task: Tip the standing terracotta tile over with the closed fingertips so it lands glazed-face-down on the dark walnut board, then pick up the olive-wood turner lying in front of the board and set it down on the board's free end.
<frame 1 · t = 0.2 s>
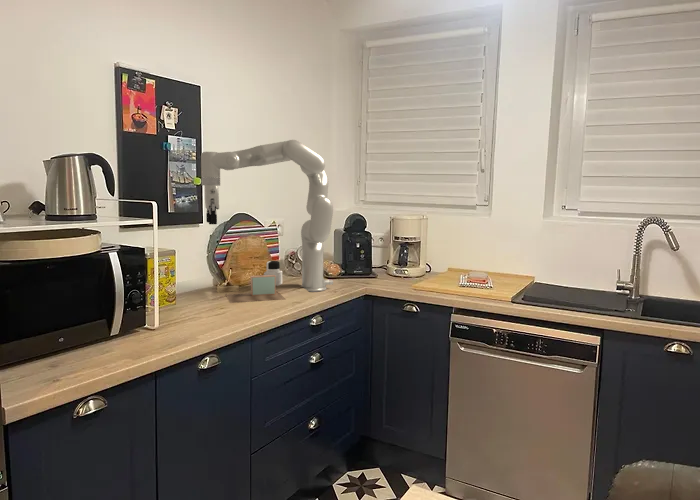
hand: (211, 223, 218), 31 cm above the countertop, fingers open, 9 cm apart
medicine bottle: (273, 287, 242), on the countertop
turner: (228, 294, 224), on the countertop
tile: (263, 294, 218), point 1 cm above the countertop, touching board
board: (255, 300, 214), on the countertop
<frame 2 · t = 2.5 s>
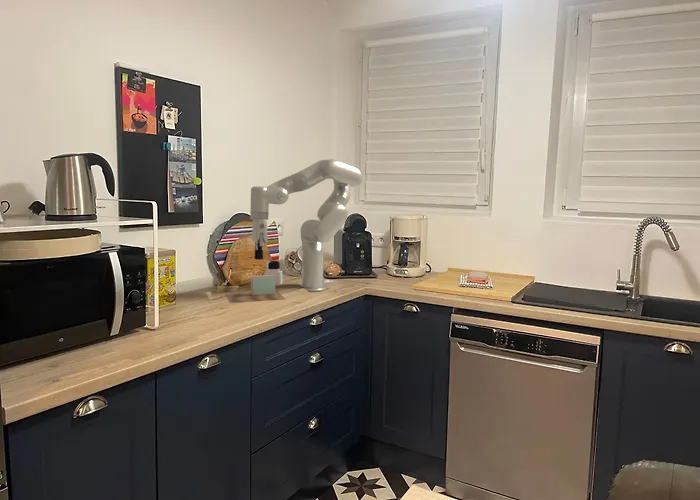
hand: (258, 259, 222), 16 cm above the countertop, fingers closed
nothing on the countertop moved.
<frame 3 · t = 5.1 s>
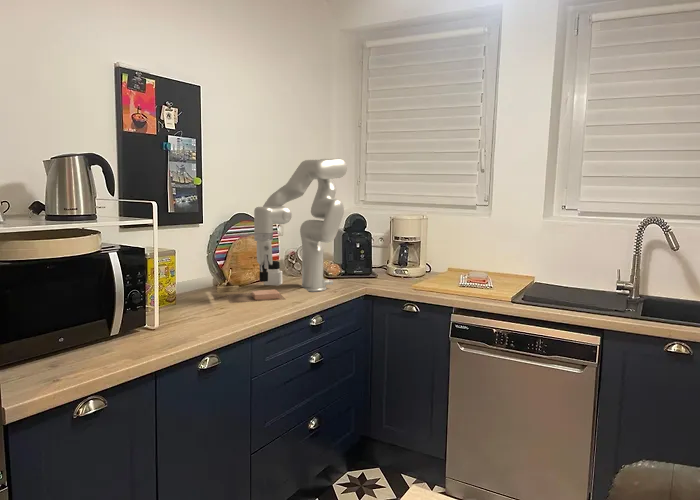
hand: (263, 281, 216), 8 cm above the countertop, fingers closed
tile: (263, 292, 217), point 3 cm above the countertop, tilted 90°, touching board
everything else where it was.
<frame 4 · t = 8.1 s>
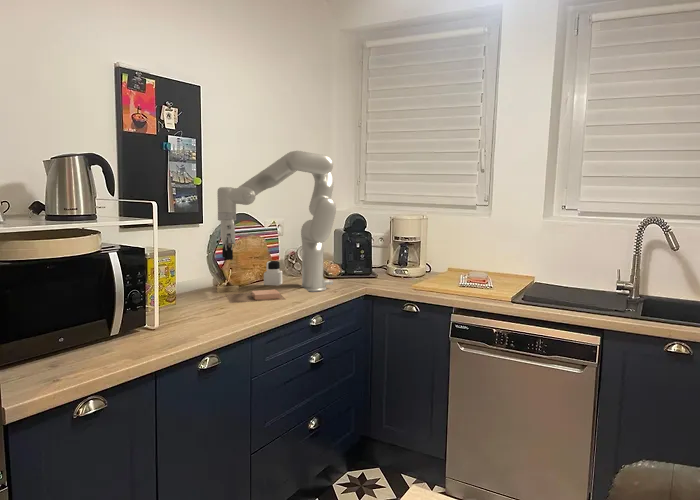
hand: (227, 258, 222), 16 cm above the countertop, fingers open, 7 cm apart
nothing on the countertop moved.
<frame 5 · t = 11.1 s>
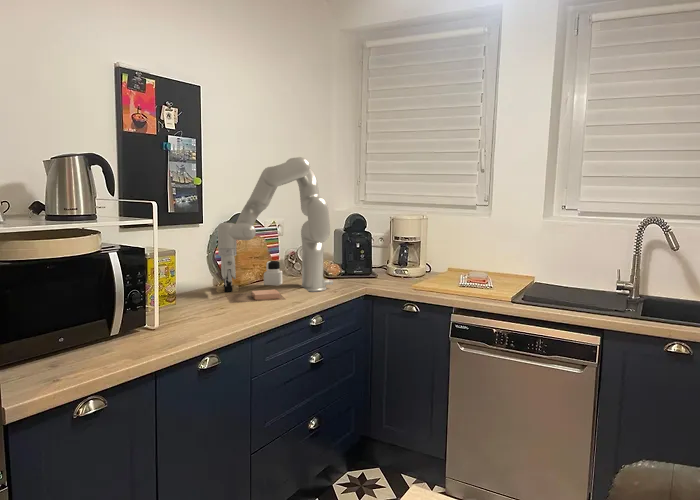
hand: (228, 294, 224), 0 cm above the countertop, fingers closed on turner, 2 cm apart
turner: (227, 294, 224), on the countertop, touching gripper
everything else where it was.
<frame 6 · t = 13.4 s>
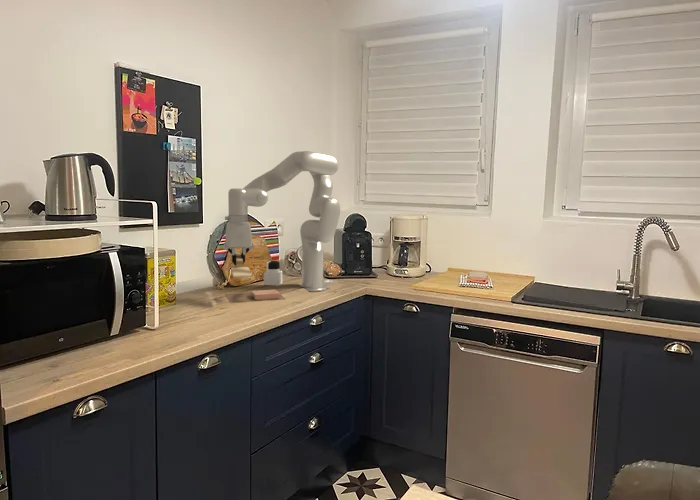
hand: (238, 264, 213), 15 cm above the countertop, fingers closed on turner
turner: (237, 264, 215), point 15 cm above the countertop, tilted 15°, touching gripper
everything else where it was.
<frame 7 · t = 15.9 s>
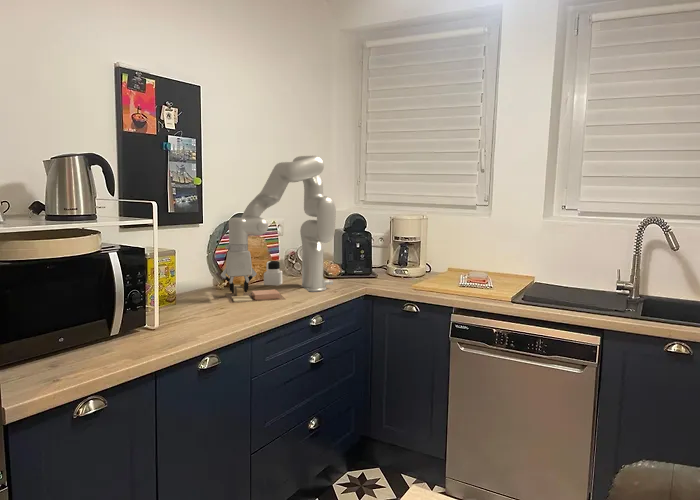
hand: (239, 291, 214), 3 cm above the countertop, fingers open, 4 cm apart
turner: (238, 295, 216), point 1 cm above the countertop, touching board
everything else where it was.
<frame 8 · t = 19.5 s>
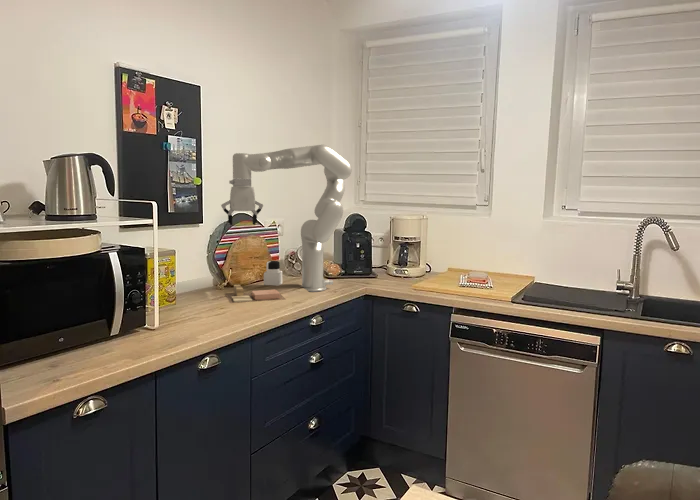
hand: (242, 224, 219), 30 cm above the countertop, fingers open, 9 cm apart
nothing on the countertop moved.
at the end: tile tilted 90°; tile inside the target area on the board (4.4 cm from its centre), point 2.6 cm above the board's base; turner inside the target area on the board (3.1 cm from its centre), point 1.5 cm above the board's base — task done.
